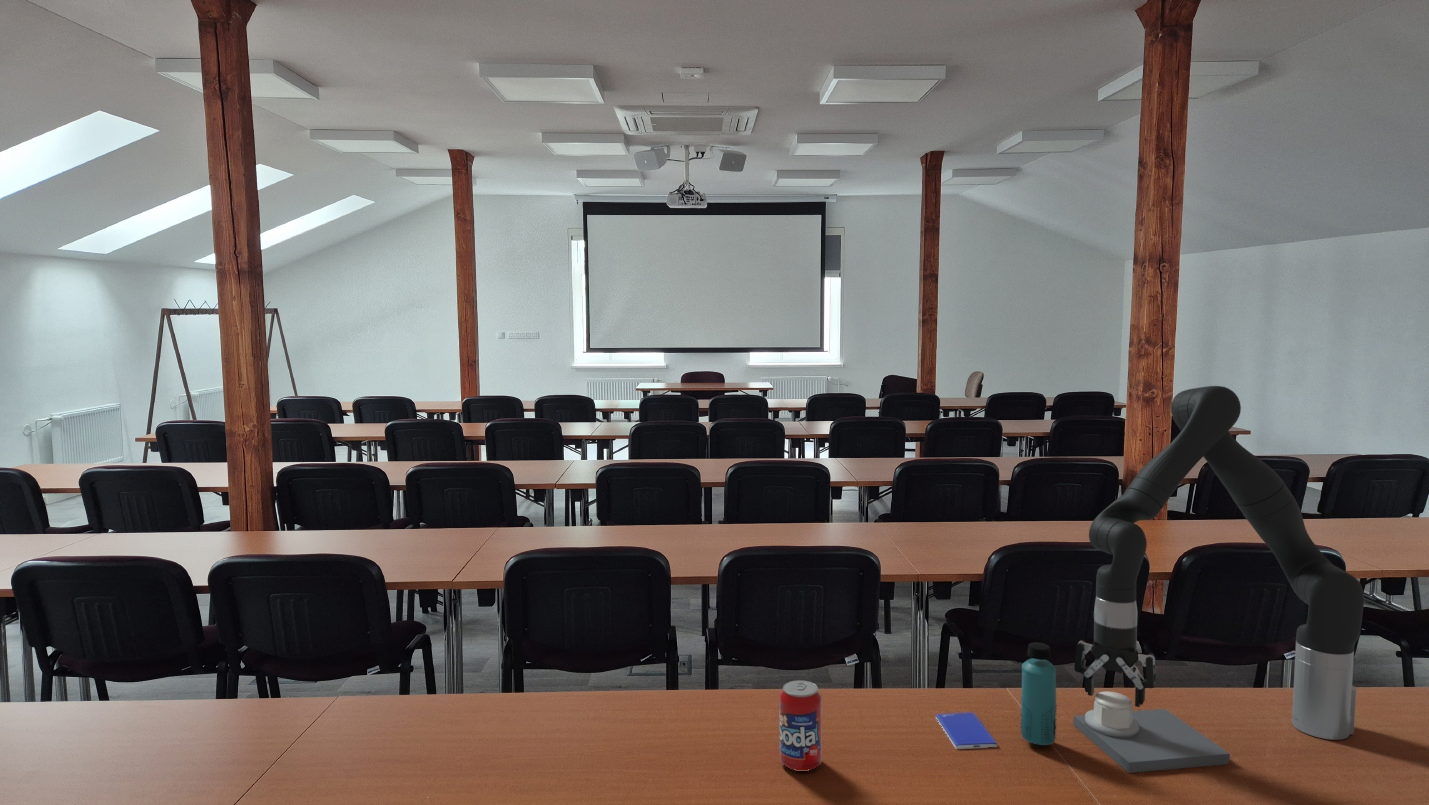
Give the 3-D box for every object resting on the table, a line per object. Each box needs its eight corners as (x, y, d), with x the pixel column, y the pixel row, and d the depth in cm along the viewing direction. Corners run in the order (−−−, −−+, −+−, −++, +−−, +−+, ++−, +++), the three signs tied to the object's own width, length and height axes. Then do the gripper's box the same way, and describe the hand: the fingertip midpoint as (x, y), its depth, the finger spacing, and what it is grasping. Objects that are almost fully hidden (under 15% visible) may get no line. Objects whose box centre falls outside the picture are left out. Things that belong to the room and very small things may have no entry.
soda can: (825, 757, 156) (825, 681, 155) (817, 778, 149) (816, 699, 148) (785, 750, 159) (785, 676, 158) (775, 771, 152) (774, 693, 150)
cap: (1088, 714, 165) (1088, 692, 164) (1118, 711, 166) (1118, 690, 165) (1107, 729, 159) (1107, 707, 158) (1138, 727, 159) (1138, 705, 159)
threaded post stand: (1164, 718, 169) (1165, 688, 169) (1229, 764, 152) (1230, 730, 151) (1073, 725, 167) (1074, 695, 166) (1128, 773, 149) (1129, 739, 149)
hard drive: (935, 713, 171) (956, 744, 158) (974, 712, 171) (997, 742, 159) (935, 721, 171) (955, 752, 159) (974, 719, 171) (997, 750, 159)
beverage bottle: (1059, 754, 156) (1061, 652, 154) (1022, 751, 157) (1024, 650, 155) (1052, 737, 162) (1054, 639, 160) (1016, 734, 164) (1018, 637, 162)
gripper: (1160, 621, 159) (1158, 702, 160) (1081, 607, 167) (1080, 684, 169) (1152, 633, 153) (1150, 717, 154) (1071, 618, 162) (1070, 697, 163)
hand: (1113, 699), depth 162 cm, fingers open, 8 cm apart
